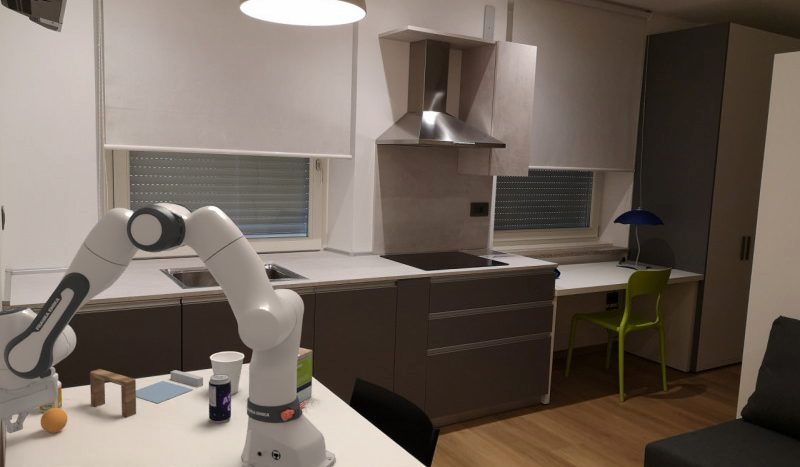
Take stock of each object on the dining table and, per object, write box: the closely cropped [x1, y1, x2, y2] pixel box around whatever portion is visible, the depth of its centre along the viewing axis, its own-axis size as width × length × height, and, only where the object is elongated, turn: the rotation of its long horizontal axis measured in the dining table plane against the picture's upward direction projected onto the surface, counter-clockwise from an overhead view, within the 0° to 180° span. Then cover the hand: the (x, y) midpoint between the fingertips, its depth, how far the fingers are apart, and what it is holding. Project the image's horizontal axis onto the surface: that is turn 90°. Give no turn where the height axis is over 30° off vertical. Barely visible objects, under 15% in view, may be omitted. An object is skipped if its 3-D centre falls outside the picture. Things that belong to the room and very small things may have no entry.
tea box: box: [297, 347, 313, 404], centre depth 191 cm, size 15×10×15 cm, turn 62°
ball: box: [40, 408, 68, 433], centre depth 164 cm, size 6×6×6 cm
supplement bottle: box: [39, 372, 63, 413], centre depth 178 cm, size 5×5×10 cm
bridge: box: [89, 368, 137, 418], centre depth 179 cm, size 15×3×10 cm, turn 61°
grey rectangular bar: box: [170, 369, 204, 388], centre depth 201 cm, size 12×2×2 cm, turn 61°
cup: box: [209, 351, 245, 396], centre depth 194 cm, size 10×10×11 cm
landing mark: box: [136, 380, 194, 404], centre depth 193 cm, size 13×13×1 cm
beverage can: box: [208, 374, 232, 424], centre depth 174 cm, size 6×6×12 cm
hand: (15, 431), depth 156 cm, fingers closed
